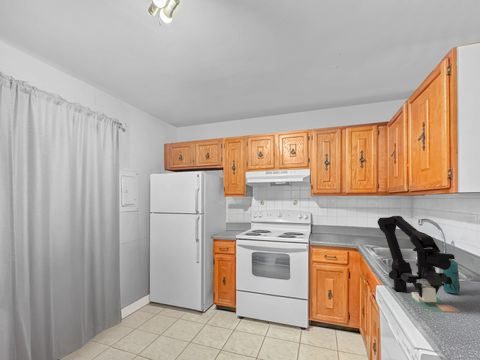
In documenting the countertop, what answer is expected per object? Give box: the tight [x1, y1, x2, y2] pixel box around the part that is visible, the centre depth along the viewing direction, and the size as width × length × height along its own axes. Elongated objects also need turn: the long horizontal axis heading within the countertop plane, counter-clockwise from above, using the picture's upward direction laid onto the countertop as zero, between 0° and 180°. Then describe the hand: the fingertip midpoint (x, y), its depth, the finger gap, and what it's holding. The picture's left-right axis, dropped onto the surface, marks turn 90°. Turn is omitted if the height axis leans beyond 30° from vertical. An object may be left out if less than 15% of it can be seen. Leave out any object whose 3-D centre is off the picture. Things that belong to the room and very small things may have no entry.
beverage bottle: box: [441, 253, 461, 294], centre depth 122 cm, size 6×7×20 cm
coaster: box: [435, 304, 461, 313], centre depth 106 cm, size 6×6×1 cm
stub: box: [419, 284, 437, 302], centre depth 110 cm, size 4×5×6 cm
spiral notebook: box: [411, 291, 431, 303], centre depth 115 cm, size 6×5×2 cm
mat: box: [407, 295, 461, 314], centre depth 111 cm, size 16×13×1 cm
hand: (427, 297), depth 110 cm, fingers closed on stub, 5 cm apart
